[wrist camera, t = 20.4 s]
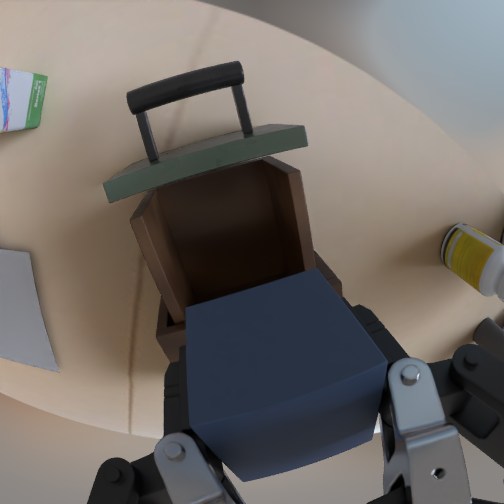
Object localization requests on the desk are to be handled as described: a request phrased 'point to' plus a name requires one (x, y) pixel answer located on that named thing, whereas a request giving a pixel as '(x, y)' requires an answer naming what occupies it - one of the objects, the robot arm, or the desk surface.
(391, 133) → the desk surface
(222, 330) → the block
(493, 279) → the pill bottle
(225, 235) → the drawer
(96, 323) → the desk surface
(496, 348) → the bottle
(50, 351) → the paper stack
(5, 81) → the ink box
